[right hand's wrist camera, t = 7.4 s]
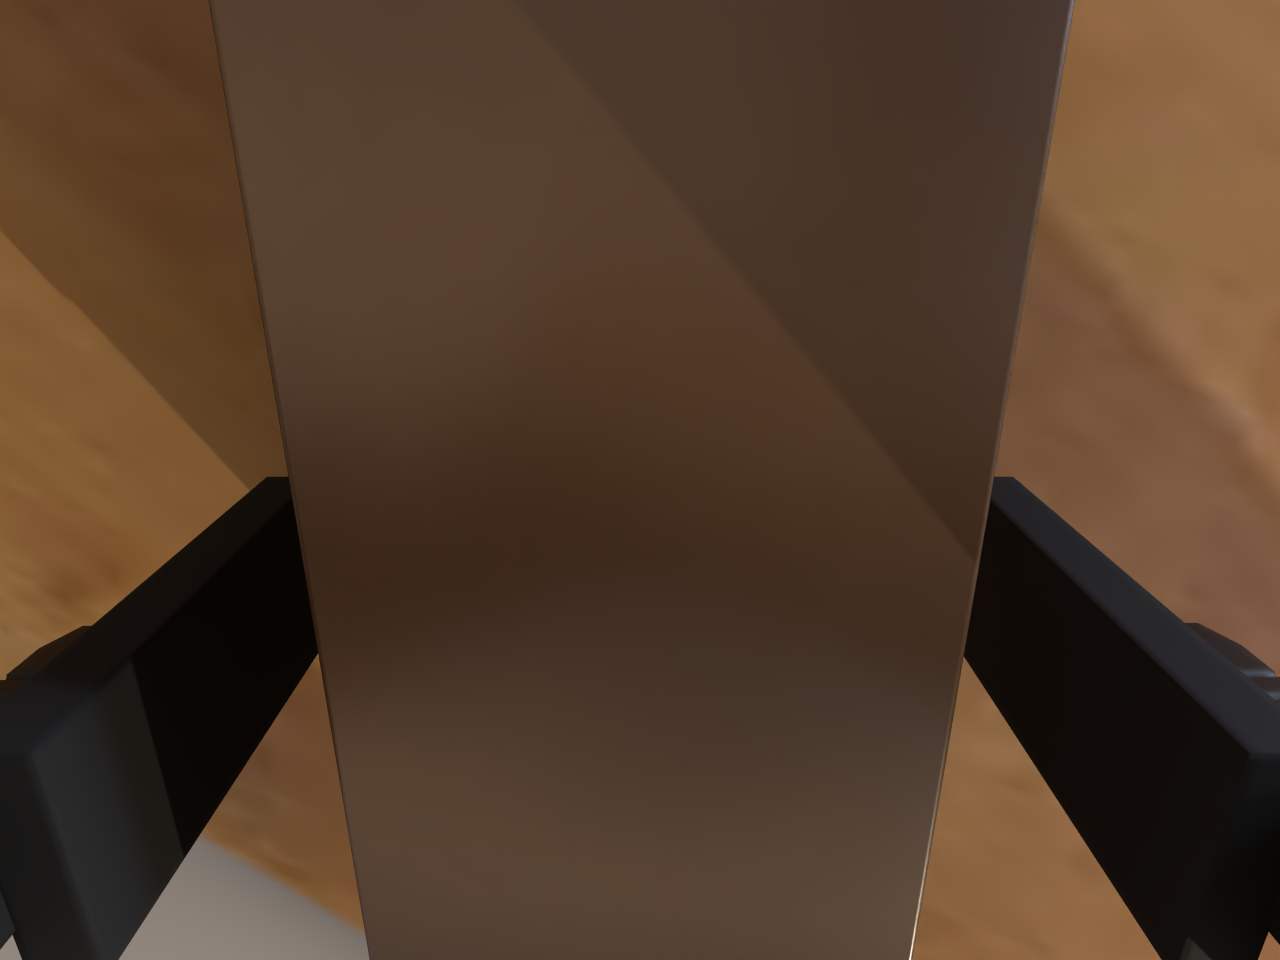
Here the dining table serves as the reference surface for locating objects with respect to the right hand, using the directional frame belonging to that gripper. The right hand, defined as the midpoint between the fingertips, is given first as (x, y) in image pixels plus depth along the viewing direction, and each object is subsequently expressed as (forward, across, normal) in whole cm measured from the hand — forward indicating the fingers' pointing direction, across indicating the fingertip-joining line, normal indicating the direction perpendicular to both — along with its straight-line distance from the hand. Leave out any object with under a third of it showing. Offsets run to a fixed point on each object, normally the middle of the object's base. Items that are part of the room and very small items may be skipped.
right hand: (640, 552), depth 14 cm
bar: (+2, 0, -21) cm, 21 cm away
